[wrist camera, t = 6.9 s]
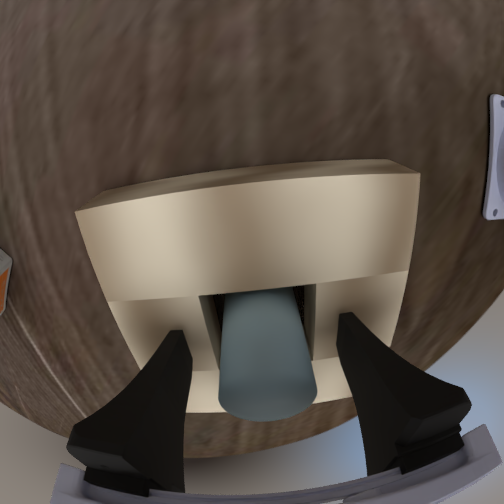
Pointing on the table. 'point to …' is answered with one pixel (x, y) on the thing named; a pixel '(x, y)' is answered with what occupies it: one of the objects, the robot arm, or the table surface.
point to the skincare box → (4, 278)
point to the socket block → (255, 255)
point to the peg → (264, 356)
